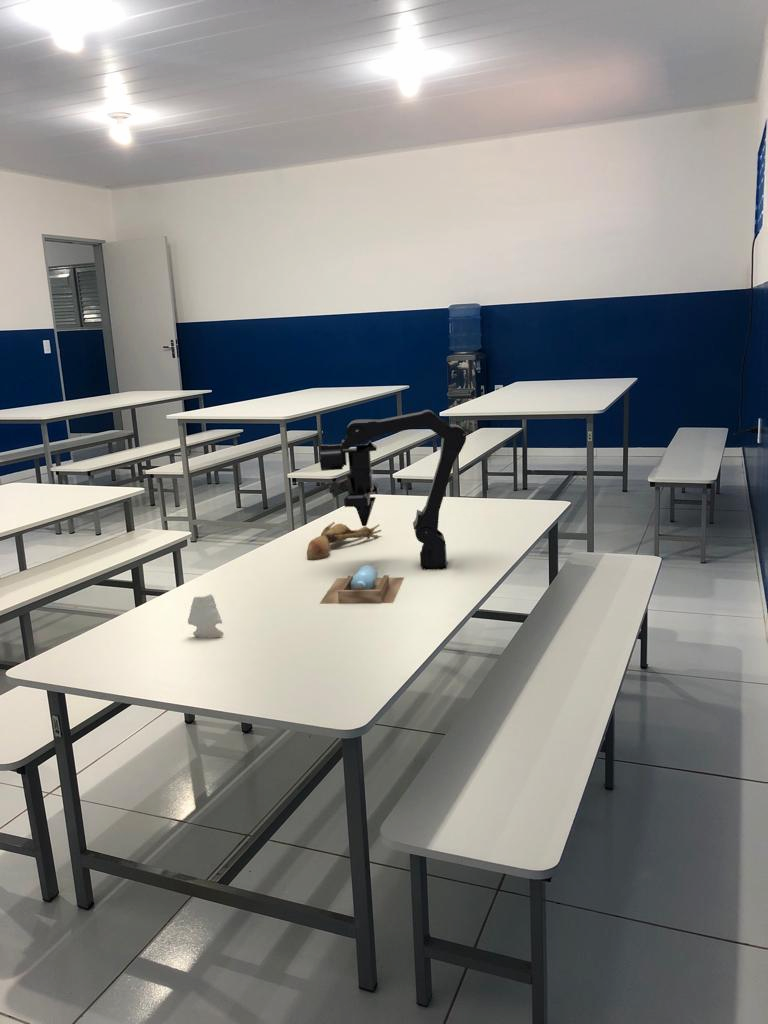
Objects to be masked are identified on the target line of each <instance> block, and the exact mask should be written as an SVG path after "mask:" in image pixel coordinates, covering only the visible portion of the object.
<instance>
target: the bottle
mask: <svg viewBox="0 0 768 1024" xmlns="http://www.w3.org/2000/svg"><path fill="white" fill-rule="evenodd" d="M378 576H379V575H378V571H377V570H376V568H375V567H373V566H372V565H364V566H363V565H362V567H360V568H359V569H358V570H357V572H356V574H355V575H354V576H353V579H352V581H351V588H352V590H371V589H372V587H373V586H374V584H375V582H376V581H377V578H379V577H378Z"/></svg>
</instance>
